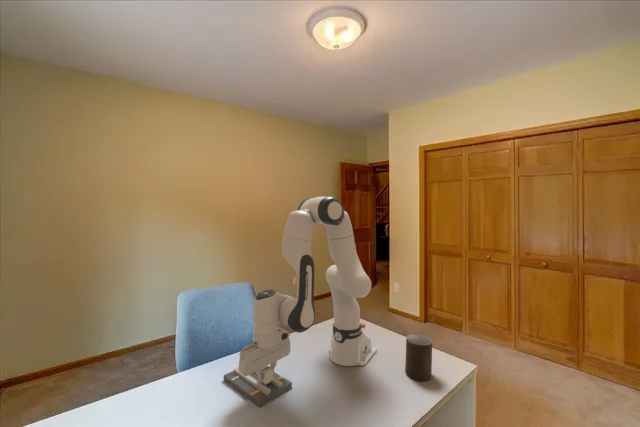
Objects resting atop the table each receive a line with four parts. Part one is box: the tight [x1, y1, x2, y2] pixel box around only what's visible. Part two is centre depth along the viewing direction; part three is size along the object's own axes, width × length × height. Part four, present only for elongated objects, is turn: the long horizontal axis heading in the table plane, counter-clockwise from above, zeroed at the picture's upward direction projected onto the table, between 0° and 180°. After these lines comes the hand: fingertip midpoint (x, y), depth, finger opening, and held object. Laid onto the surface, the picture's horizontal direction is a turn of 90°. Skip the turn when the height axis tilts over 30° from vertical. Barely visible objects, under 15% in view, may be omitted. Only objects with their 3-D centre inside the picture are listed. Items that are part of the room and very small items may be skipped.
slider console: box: [223, 366, 293, 409], centre depth 107 cm, size 14×22×3 cm, turn 48°
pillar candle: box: [404, 333, 433, 382], centre depth 114 cm, size 10×10×15 cm
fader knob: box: [260, 365, 273, 386], centre depth 103 cm, size 3×4×5 cm
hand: (265, 376), depth 103 cm, fingers closed on fader knob, 3 cm apart
